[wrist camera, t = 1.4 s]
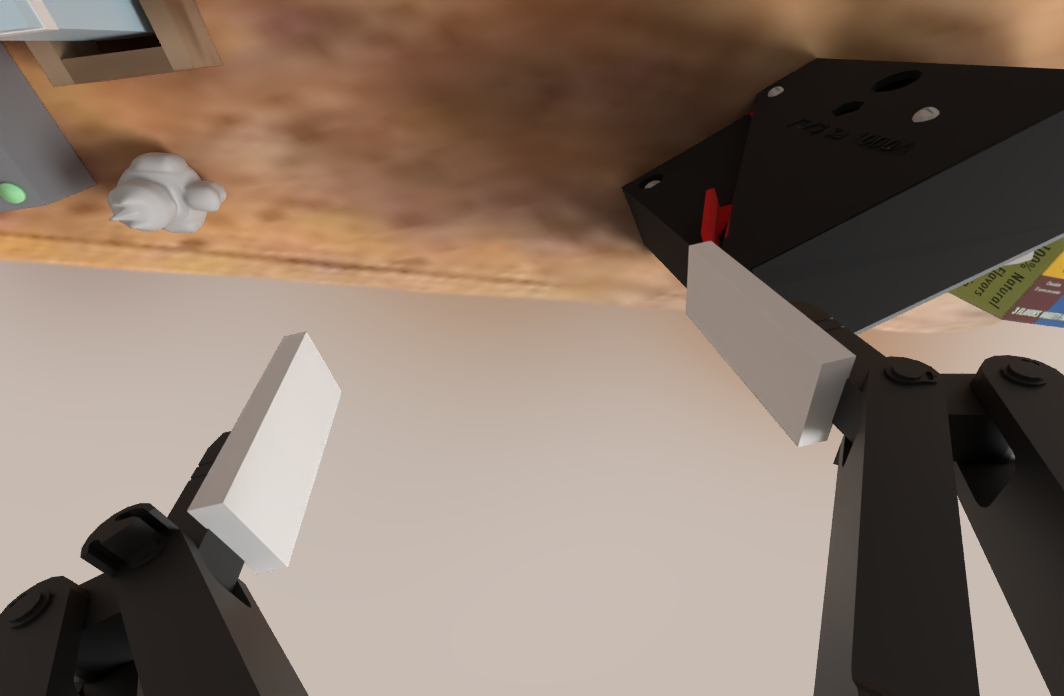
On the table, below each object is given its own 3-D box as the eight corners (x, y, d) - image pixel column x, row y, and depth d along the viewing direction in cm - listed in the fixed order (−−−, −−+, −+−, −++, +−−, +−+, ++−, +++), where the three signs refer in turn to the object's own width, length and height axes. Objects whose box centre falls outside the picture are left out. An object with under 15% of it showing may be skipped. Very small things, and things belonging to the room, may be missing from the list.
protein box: (846, 244, 45) (999, 322, 33) (952, 71, 37) (1211, 86, 24) (923, 257, 48) (1093, 334, 35) (1039, 97, 40) (1314, 123, 27)
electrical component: (651, 262, 43) (774, 396, 27) (613, 167, 37) (741, 264, 21) (827, 167, 40) (1083, 253, 24) (816, 48, 34) (1142, 55, 18)
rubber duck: (123, 144, 31) (37, 171, 25) (226, 148, 32) (170, 176, 26) (154, 220, 34) (85, 262, 28) (247, 221, 35) (202, 262, 29)
